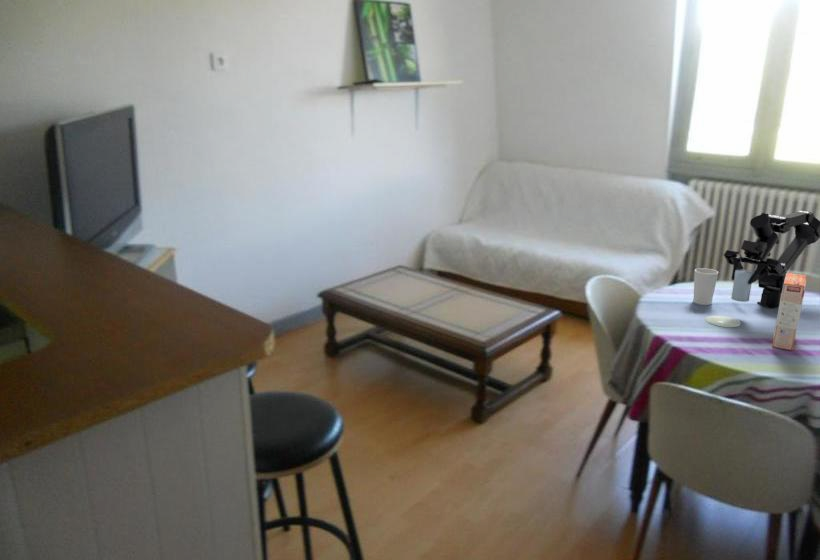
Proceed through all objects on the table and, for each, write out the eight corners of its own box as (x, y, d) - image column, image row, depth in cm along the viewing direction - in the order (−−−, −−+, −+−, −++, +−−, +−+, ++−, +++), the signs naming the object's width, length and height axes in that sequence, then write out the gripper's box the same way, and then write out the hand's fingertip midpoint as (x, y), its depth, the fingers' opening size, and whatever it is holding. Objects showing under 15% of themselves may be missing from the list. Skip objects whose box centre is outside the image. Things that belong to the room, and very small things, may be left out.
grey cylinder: (740, 296, 230) (744, 268, 227) (752, 300, 225) (757, 272, 222) (727, 297, 228) (731, 270, 225) (739, 302, 223) (744, 274, 220)
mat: (723, 314, 230) (723, 314, 230) (747, 325, 220) (748, 324, 220) (697, 318, 227) (697, 317, 227) (721, 328, 217) (721, 328, 217)
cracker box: (793, 351, 198) (805, 285, 192) (771, 347, 201) (782, 282, 195) (796, 337, 210) (807, 274, 204) (774, 333, 213) (785, 271, 207)
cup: (709, 299, 247) (714, 268, 243) (717, 306, 239) (721, 274, 236) (687, 298, 247) (691, 267, 244) (694, 305, 240) (698, 273, 236)
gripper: (730, 226, 229) (707, 261, 227) (784, 236, 214) (760, 274, 212) (739, 245, 236) (718, 280, 233) (792, 256, 221) (770, 293, 218)
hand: (740, 281), depth 224 cm, fingers closed on grey cylinder, 5 cm apart
